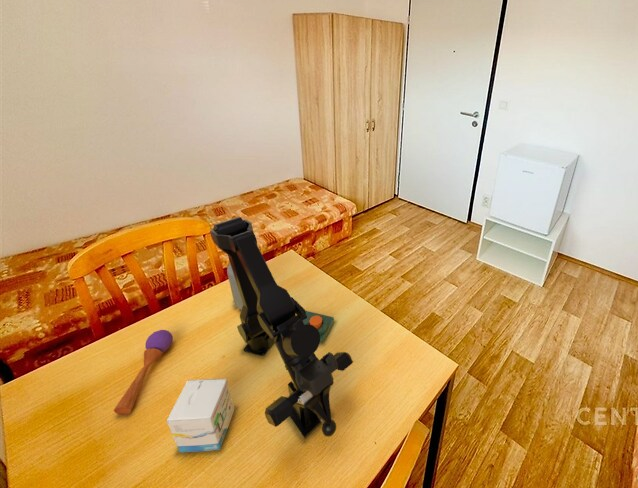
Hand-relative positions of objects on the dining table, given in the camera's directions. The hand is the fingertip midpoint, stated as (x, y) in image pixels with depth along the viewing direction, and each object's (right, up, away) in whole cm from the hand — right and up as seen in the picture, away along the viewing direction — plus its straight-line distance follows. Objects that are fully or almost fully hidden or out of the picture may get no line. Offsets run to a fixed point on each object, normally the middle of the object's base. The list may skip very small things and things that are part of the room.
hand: (329, 423), depth 67 cm
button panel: (-12, +6, +30) cm, 33 cm away
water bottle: (-35, +12, +39) cm, 54 cm away
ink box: (-28, -5, +5) cm, 29 cm away
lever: (-4, 0, +4) cm, 6 cm away
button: (-10, +9, +28) cm, 31 cm away
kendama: (-50, +2, +15) cm, 52 cm away
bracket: (-8, -4, +9) cm, 13 cm away
